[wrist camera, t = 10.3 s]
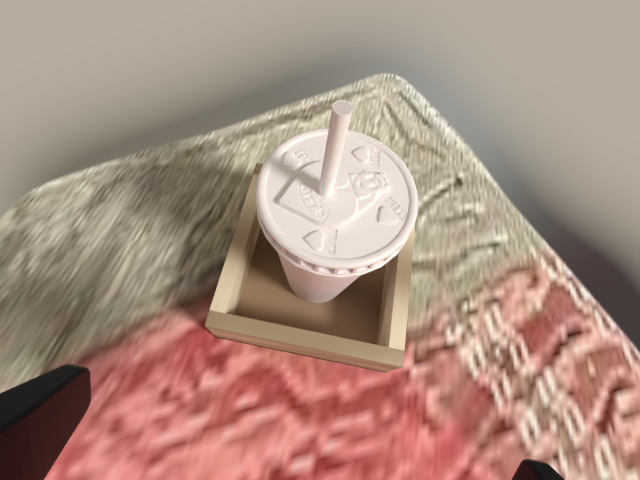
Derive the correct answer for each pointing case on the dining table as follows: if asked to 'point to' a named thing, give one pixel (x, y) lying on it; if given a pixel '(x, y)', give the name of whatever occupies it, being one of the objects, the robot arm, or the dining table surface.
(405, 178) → the smoothie
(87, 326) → the dining table surface
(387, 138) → the dining table surface
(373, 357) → the cup holder
